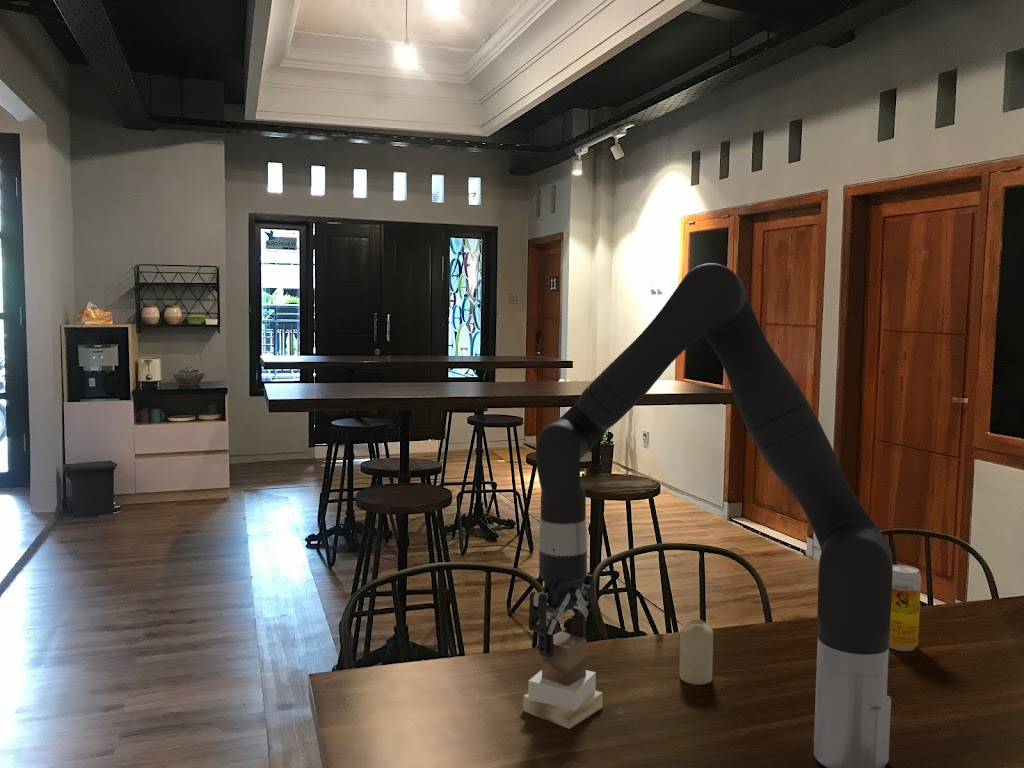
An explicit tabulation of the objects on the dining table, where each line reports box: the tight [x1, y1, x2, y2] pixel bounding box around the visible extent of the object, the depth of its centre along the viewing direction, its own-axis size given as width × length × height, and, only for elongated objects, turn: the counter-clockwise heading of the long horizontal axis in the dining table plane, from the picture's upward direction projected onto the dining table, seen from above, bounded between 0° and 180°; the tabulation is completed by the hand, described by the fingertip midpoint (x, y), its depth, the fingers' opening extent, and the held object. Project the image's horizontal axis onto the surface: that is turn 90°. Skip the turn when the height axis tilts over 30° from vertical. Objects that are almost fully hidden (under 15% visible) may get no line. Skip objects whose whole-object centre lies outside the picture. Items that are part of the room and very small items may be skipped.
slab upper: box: [527, 669, 597, 711], centre depth 132 cm, size 8×8×3 cm
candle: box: [679, 618, 714, 686], centre depth 143 cm, size 6×6×10 cm
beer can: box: [889, 564, 922, 652], centre depth 157 cm, size 6×6×15 cm
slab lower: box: [522, 690, 604, 730], centre depth 132 cm, size 9×9×3 cm
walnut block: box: [541, 631, 587, 686], centre depth 132 cm, size 5×5×6 cm
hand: (562, 647), depth 132 cm, fingers open, 8 cm apart
